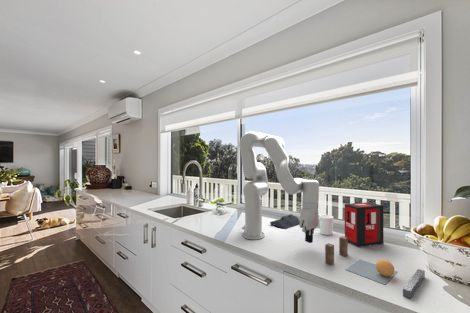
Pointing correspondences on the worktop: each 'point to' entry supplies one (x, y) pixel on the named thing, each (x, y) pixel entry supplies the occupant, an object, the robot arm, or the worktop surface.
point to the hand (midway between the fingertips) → (308, 241)
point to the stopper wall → (413, 284)
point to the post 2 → (343, 246)
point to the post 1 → (329, 254)
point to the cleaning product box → (364, 224)
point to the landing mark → (369, 271)
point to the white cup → (326, 224)
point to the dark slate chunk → (286, 222)
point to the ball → (385, 267)
